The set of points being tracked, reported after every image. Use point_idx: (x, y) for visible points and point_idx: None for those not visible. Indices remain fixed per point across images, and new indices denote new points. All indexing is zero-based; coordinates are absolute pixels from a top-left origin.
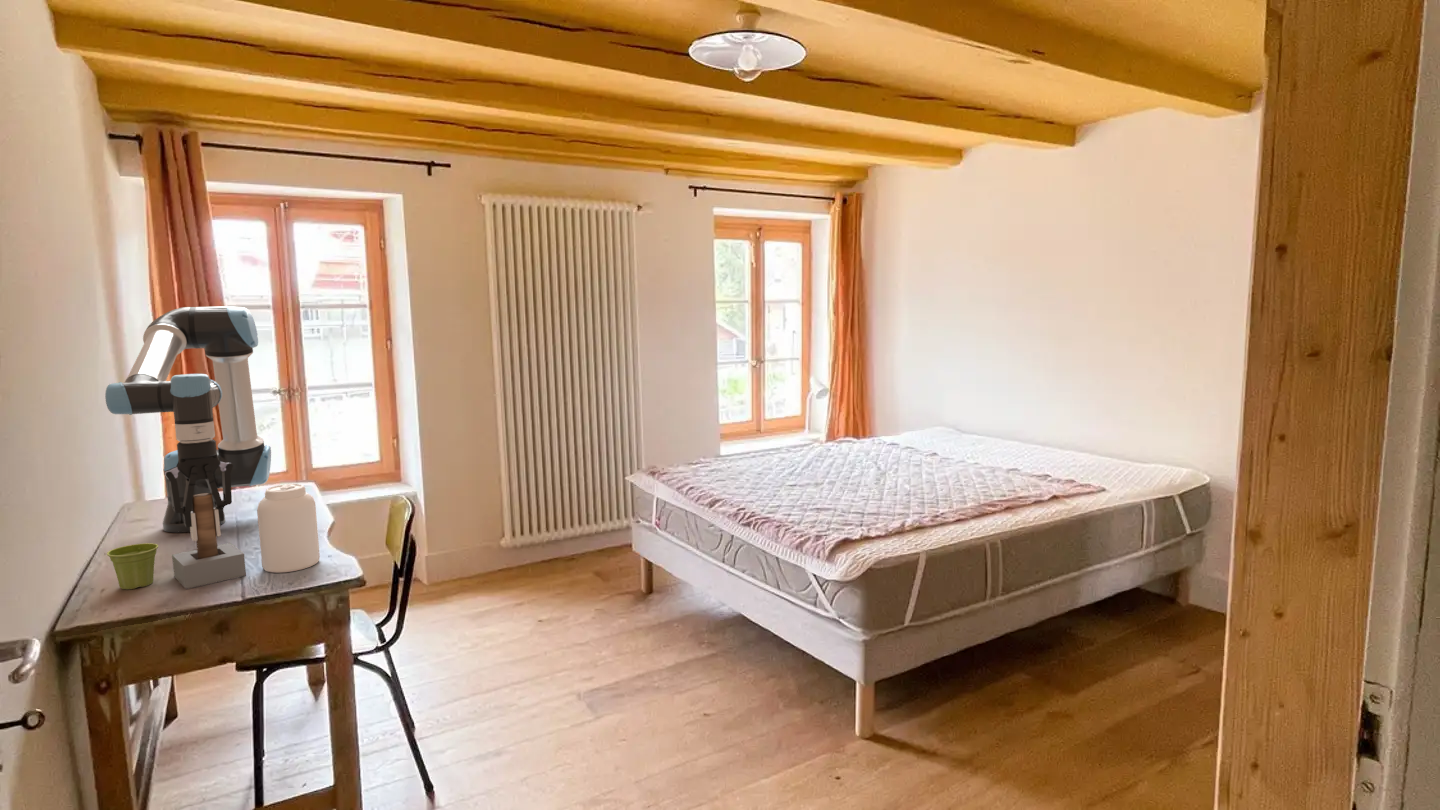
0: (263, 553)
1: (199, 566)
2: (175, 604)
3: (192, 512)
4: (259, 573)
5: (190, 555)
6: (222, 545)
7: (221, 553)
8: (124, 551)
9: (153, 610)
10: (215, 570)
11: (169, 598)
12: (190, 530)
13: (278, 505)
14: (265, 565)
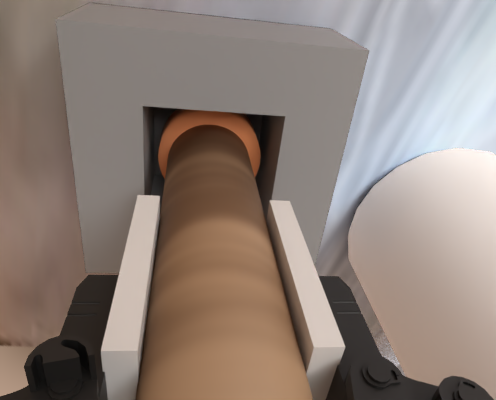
0: (368, 279)
1: None
2: (61, 313)
3: (129, 390)
4: (328, 228)
5: (140, 131)
6: (321, 69)
7: (276, 143)
8: None
9: (3, 318)
10: None
11: (50, 257)
12: (129, 233)
13: None
14: (352, 253)
